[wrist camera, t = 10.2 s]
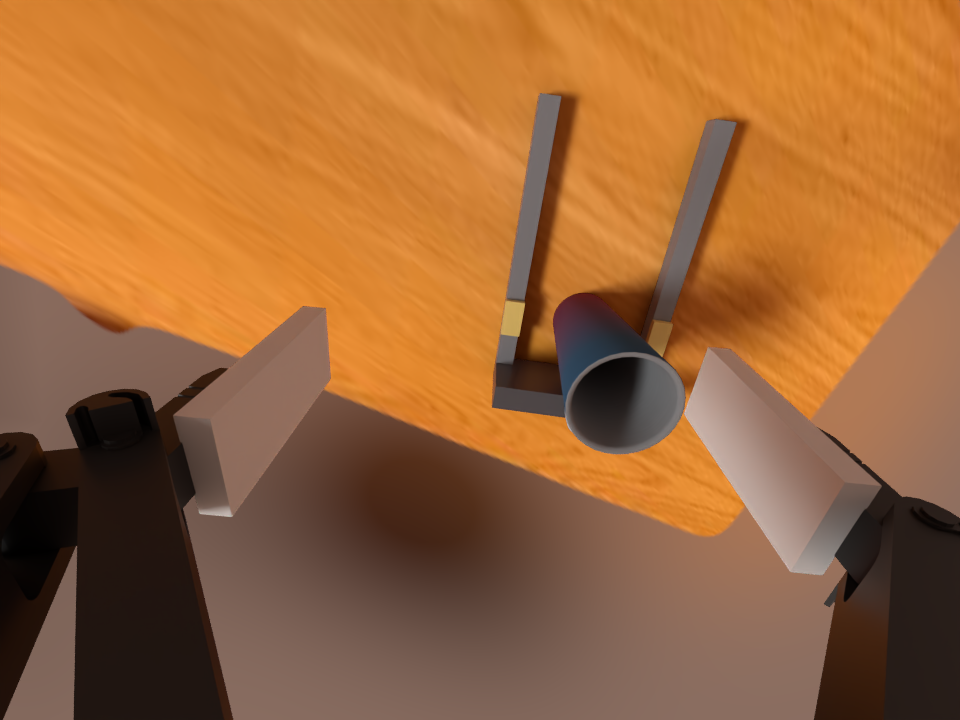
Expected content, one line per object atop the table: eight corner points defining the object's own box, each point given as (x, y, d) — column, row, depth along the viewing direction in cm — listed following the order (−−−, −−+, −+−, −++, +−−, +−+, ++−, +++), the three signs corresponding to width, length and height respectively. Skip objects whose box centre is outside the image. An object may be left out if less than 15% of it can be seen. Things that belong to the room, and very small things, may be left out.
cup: (636, 312, 38) (711, 395, 25) (585, 368, 41) (627, 472, 27) (576, 266, 37) (621, 328, 23) (527, 328, 39) (541, 416, 26)
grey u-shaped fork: (537, 96, 32) (548, 76, 25) (727, 124, 32) (793, 113, 25) (492, 376, 42) (490, 422, 34) (638, 397, 42) (667, 446, 34)
